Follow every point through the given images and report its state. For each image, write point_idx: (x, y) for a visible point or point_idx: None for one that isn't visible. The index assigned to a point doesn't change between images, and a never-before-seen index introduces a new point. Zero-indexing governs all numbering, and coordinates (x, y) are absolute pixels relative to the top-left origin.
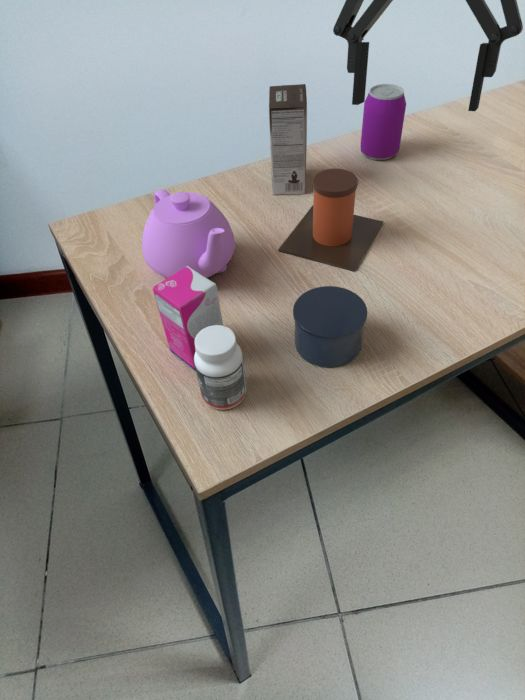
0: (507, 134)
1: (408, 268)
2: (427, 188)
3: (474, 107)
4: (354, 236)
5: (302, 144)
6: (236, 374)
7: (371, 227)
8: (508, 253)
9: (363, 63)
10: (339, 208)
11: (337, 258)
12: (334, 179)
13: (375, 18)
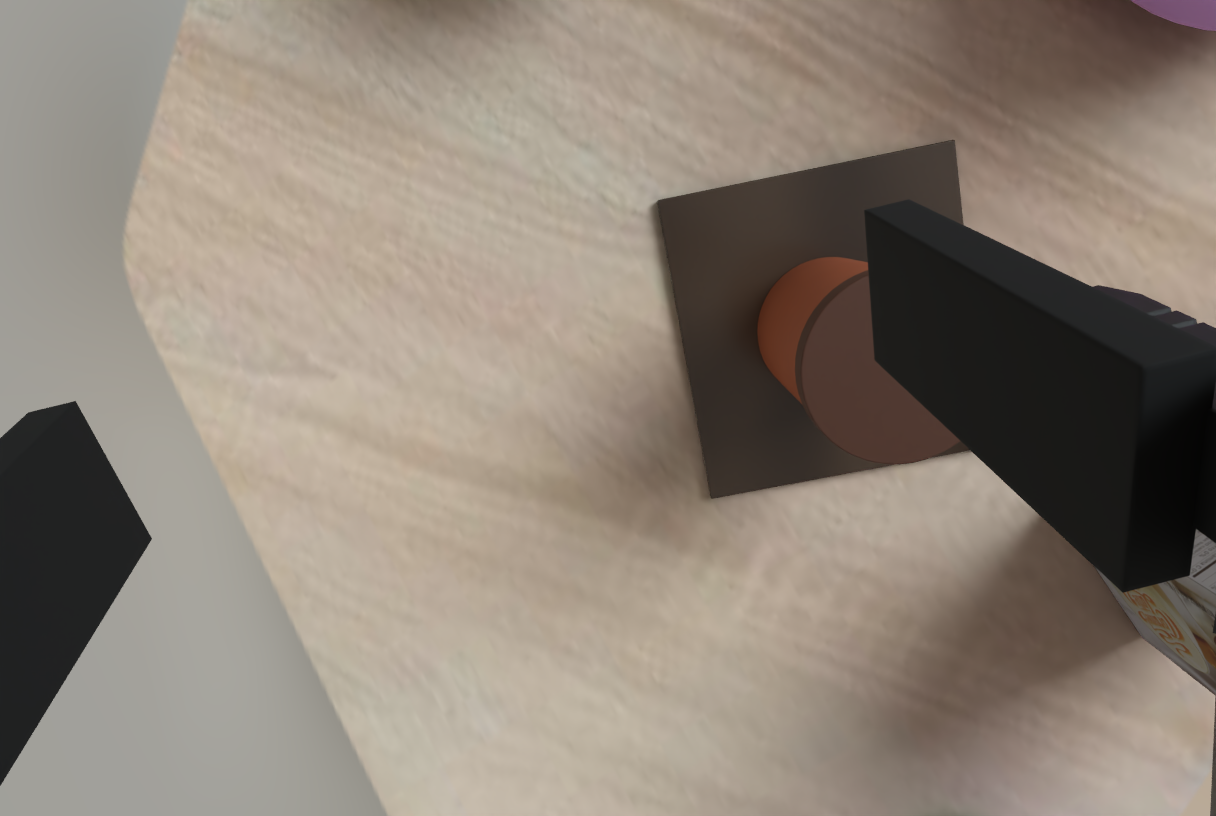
0: None
1: (516, 323)
2: (682, 756)
3: (24, 419)
4: (754, 365)
5: (1194, 576)
6: None
7: (729, 443)
8: (300, 568)
9: (1014, 372)
10: (814, 295)
11: (740, 220)
12: None
13: None
